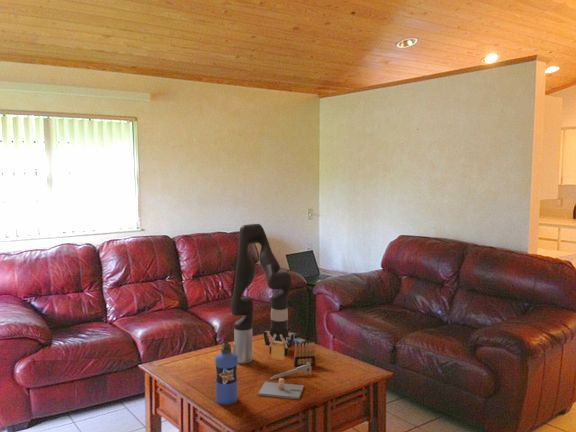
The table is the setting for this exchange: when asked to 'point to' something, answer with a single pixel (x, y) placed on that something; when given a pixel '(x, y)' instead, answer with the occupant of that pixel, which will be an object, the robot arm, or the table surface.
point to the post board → (281, 390)
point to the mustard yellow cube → (278, 350)
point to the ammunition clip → (304, 355)
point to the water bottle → (226, 376)
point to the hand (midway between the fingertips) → (279, 355)
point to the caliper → (294, 371)
